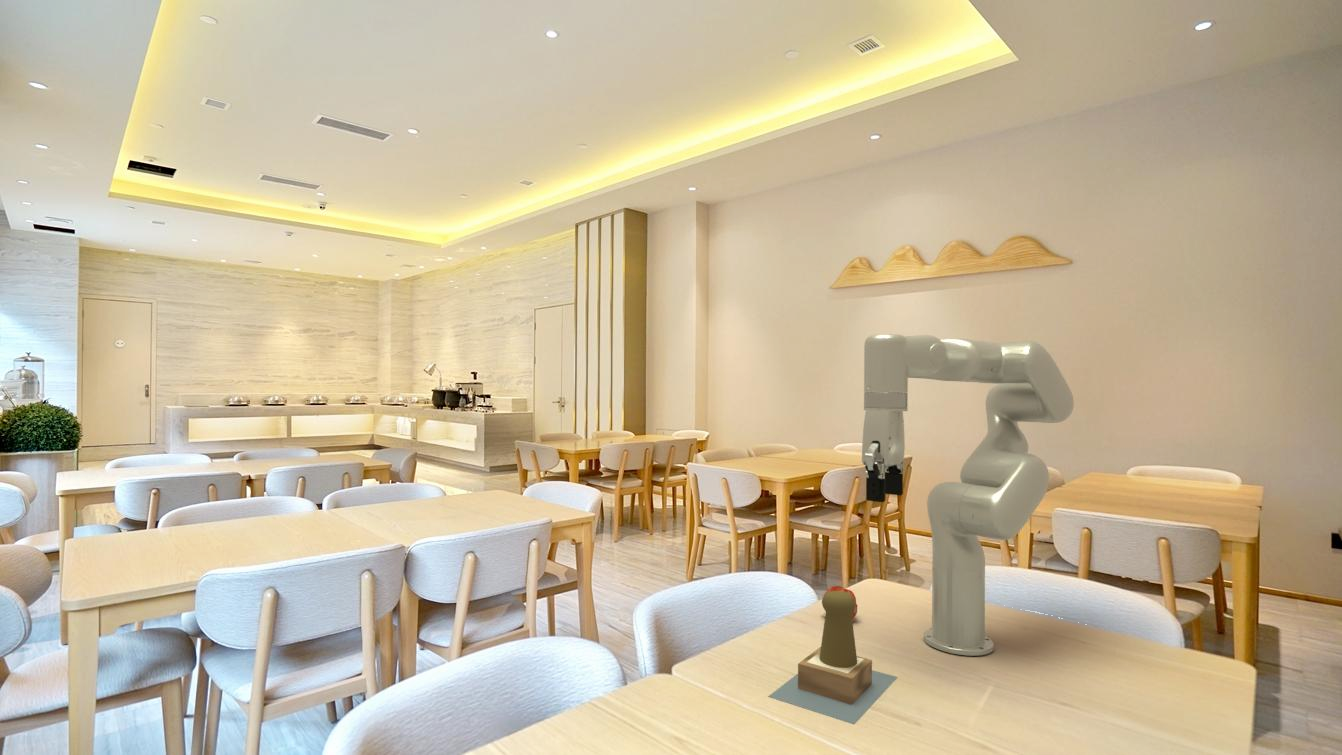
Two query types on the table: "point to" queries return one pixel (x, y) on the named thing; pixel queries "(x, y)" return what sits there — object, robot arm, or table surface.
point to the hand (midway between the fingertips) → (884, 497)
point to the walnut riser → (834, 678)
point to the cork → (838, 630)
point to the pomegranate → (839, 588)
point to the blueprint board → (831, 706)
